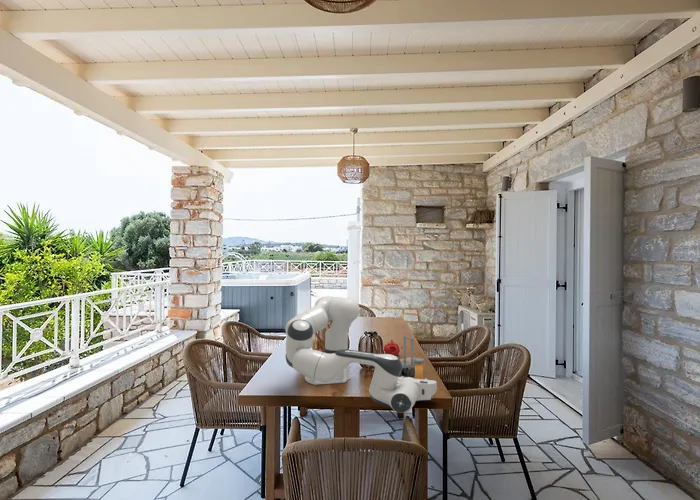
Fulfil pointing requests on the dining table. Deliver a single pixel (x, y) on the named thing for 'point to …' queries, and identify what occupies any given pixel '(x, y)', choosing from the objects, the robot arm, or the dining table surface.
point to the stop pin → (418, 368)
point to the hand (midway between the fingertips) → (414, 379)
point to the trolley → (407, 366)
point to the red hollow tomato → (392, 348)
